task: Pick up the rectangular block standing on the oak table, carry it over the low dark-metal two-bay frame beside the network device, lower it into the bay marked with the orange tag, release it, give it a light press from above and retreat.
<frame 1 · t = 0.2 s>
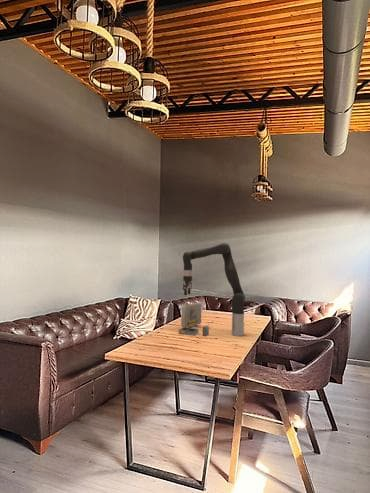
hand: (187, 294, 329), 29 cm above the table, tool pointing down, fingers open, 8 cm apart
rectangular block: (205, 335, 307), on the table
rack: (188, 333, 312), on the table
network device: (191, 327, 334), on the table
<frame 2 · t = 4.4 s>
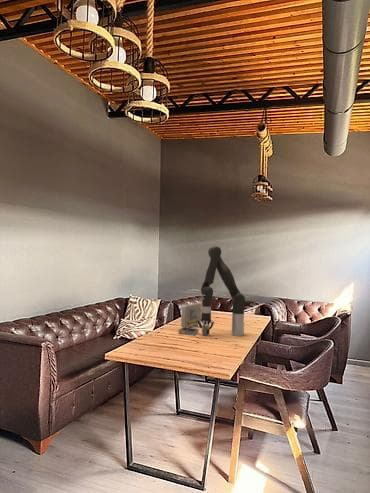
hand: (205, 333, 307), 1 cm above the table, tool pointing down, fingers closed on rectangular block, 3 cm apart
rectangular block: (205, 335, 307), on the table, touching gripper
everything else where it was.
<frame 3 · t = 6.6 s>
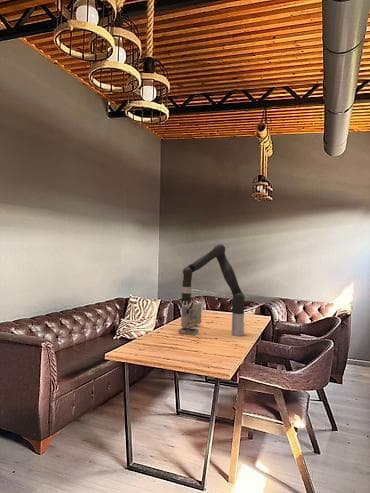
hand: (185, 313, 313), 15 cm above the table, tool pointing down, fingers closed on rectangular block, 3 cm apart
rectangular block: (185, 315, 313), point 14 cm above the table, touching gripper
everything else where it was.
when the fingers open (3 cm above the table, at t = 8.7 s): rectangular block stays where it is, resting on rack.
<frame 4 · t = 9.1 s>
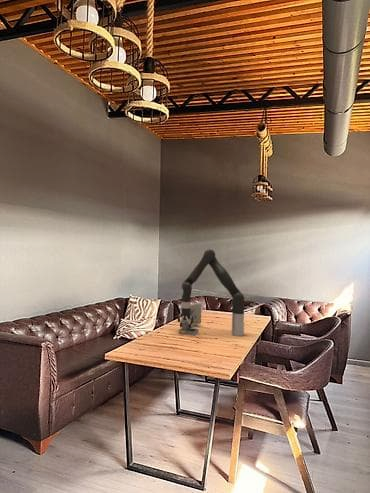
hand: (185, 327, 313), 4 cm above the table, tool pointing down, fingers open, 6 cm apart
rectangular block: (185, 331, 313), point 1 cm above the table, touching rack
everything else where it was.
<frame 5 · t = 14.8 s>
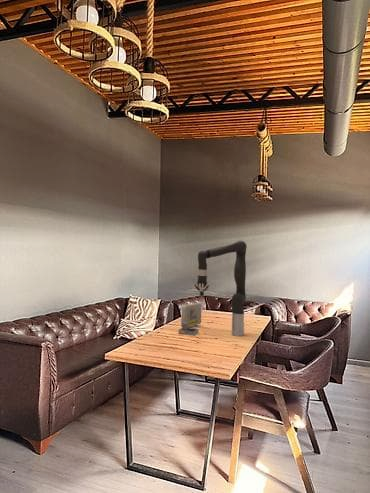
hand: (201, 296, 320), 29 cm above the table, tool pointing down, fingers closed
nothing on the table moved.
at the end: rectangular block 0.3 cm from the target spot on the rack, point 1.1 cm above the rack's base; rectangular block tilted 0°; the gripper is holding nothing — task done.
